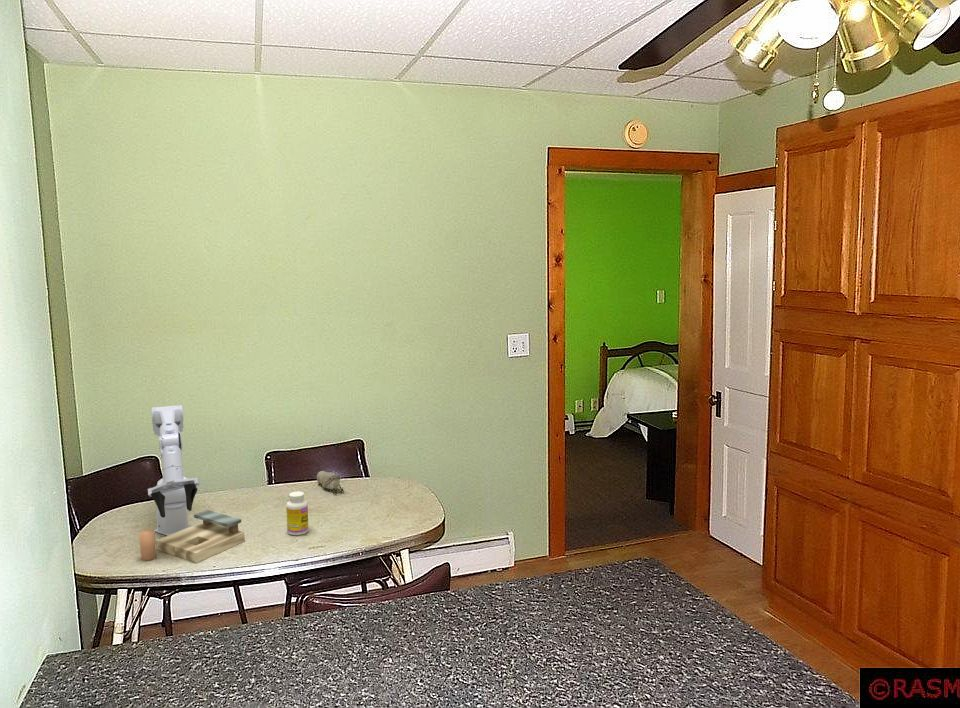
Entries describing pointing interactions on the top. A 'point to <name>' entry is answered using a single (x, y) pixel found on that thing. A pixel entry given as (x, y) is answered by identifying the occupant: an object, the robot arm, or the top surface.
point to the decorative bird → (329, 480)
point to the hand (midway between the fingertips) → (176, 513)
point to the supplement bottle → (297, 514)
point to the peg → (147, 545)
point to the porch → (203, 537)
